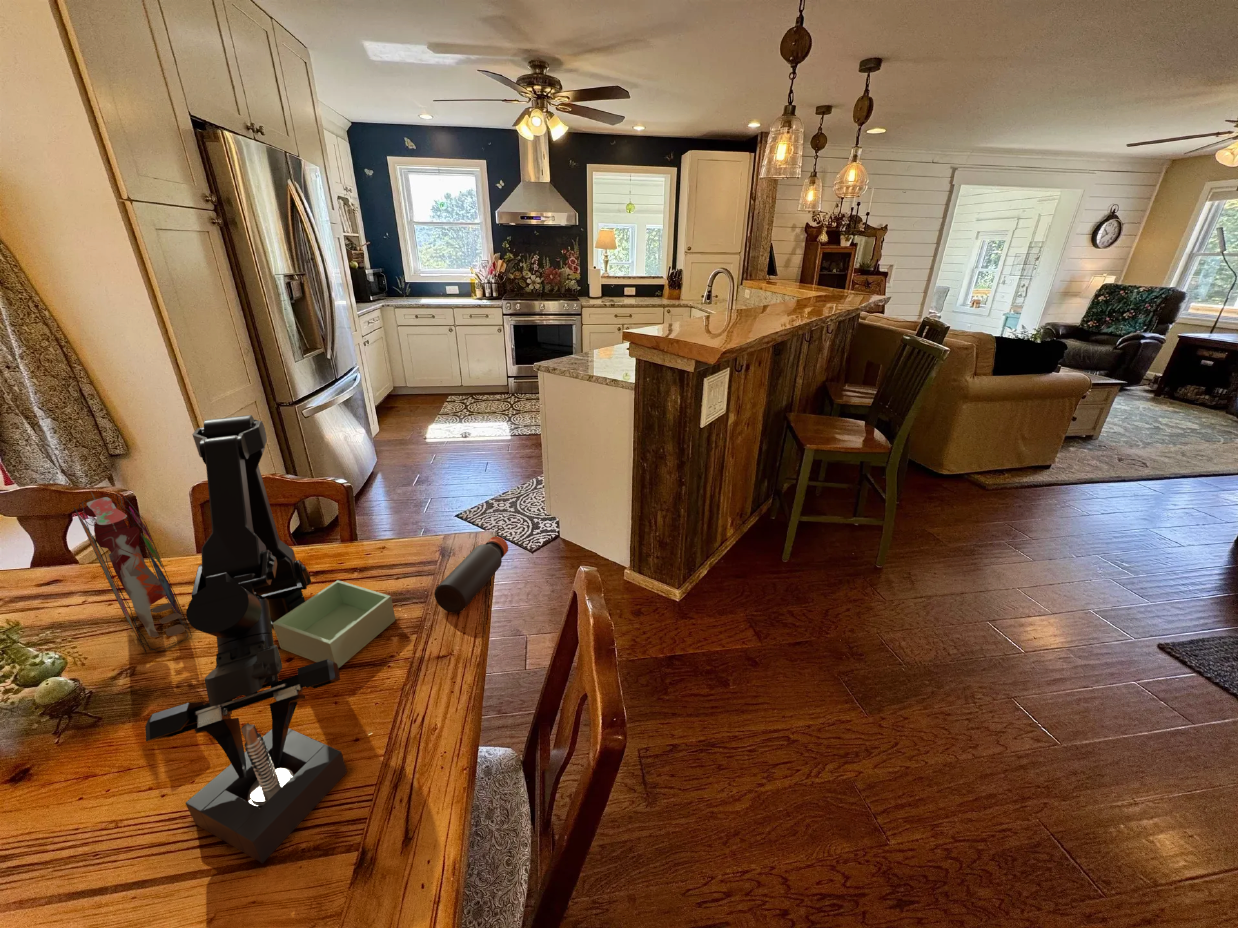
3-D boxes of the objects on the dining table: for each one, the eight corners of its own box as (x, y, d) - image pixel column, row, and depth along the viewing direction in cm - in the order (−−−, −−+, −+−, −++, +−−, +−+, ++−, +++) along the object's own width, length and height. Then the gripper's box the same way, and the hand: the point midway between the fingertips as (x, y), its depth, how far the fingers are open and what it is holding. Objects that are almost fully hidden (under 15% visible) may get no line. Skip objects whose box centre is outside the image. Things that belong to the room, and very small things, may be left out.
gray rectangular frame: (195, 824, 60) (184, 802, 58) (285, 743, 70) (278, 722, 68) (262, 863, 56) (252, 841, 54) (347, 771, 66) (341, 751, 64)
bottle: (469, 597, 92) (516, 542, 110) (439, 578, 92) (491, 527, 110) (458, 620, 95) (506, 563, 113) (429, 601, 95) (481, 548, 113)
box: (115, 600, 97) (63, 489, 88) (155, 585, 102) (110, 478, 92) (148, 658, 84) (91, 534, 74) (193, 638, 88) (145, 519, 79)
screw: (296, 804, 62) (250, 824, 60) (298, 771, 66) (254, 789, 64) (269, 731, 57) (217, 749, 55) (272, 700, 61) (224, 716, 58)
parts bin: (280, 648, 86) (272, 623, 84) (343, 603, 98) (337, 579, 95) (336, 669, 82) (329, 643, 80) (395, 619, 93) (391, 595, 91)
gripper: (118, 663, 53) (124, 825, 48) (318, 608, 61) (339, 742, 56) (162, 668, 62) (171, 804, 57) (331, 621, 70) (350, 736, 66)
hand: (260, 770), depth 59 cm, fingers open, 3 cm apart
